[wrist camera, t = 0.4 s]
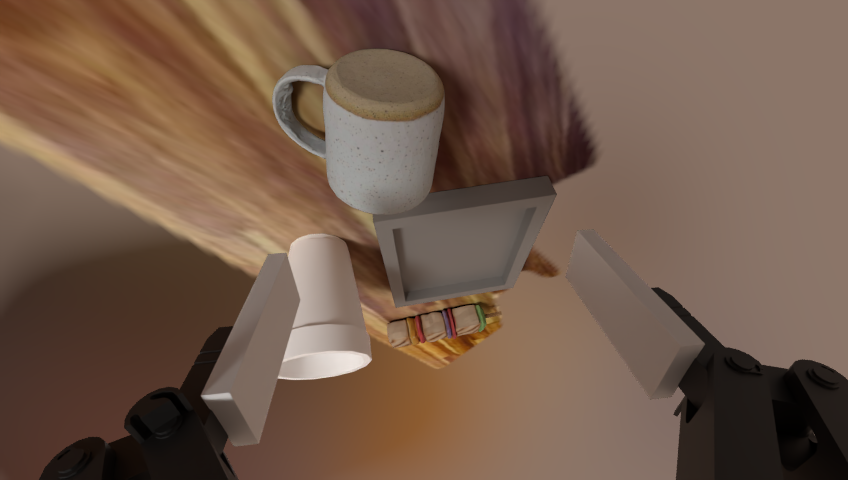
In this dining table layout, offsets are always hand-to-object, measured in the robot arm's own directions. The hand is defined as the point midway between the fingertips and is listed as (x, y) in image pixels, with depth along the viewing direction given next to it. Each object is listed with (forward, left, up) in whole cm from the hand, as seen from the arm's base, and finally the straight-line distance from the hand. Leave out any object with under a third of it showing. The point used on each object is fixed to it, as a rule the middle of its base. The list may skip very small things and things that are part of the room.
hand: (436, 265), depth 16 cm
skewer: (+47, +4, -15) cm, 50 cm away
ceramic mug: (+1, -3, -15) cm, 15 cm away
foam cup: (+19, -11, -15) cm, 27 cm away
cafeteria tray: (+23, +5, -14) cm, 28 cm away
